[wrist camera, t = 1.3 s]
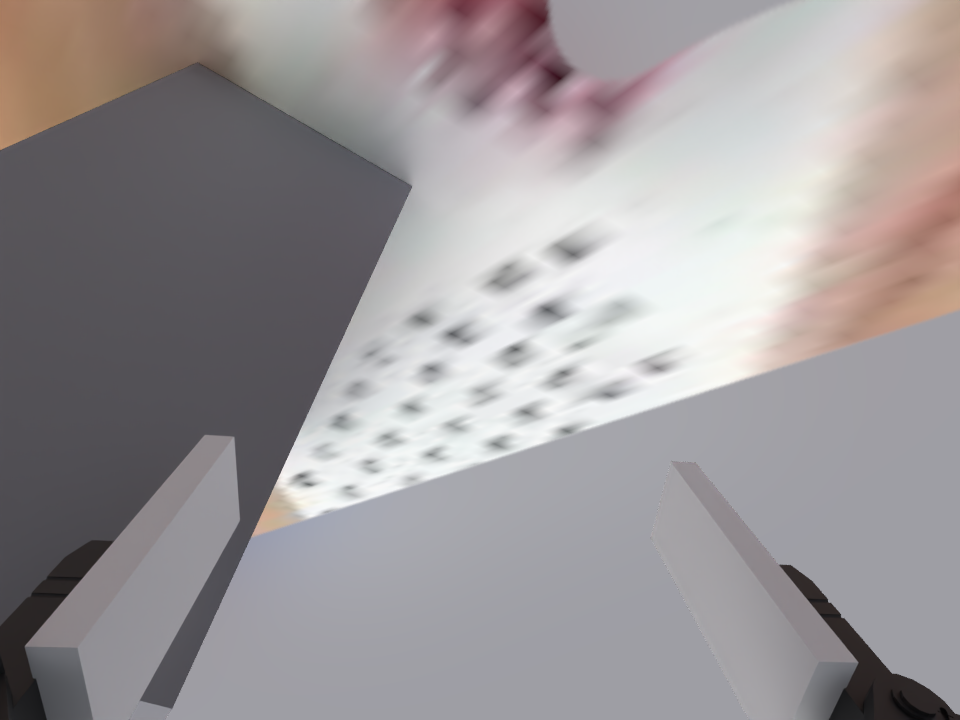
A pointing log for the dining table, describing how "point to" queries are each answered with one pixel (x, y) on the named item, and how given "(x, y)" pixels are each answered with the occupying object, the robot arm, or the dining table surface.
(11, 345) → the scale shelf
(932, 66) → the dining table surface
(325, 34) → the dining table surface
